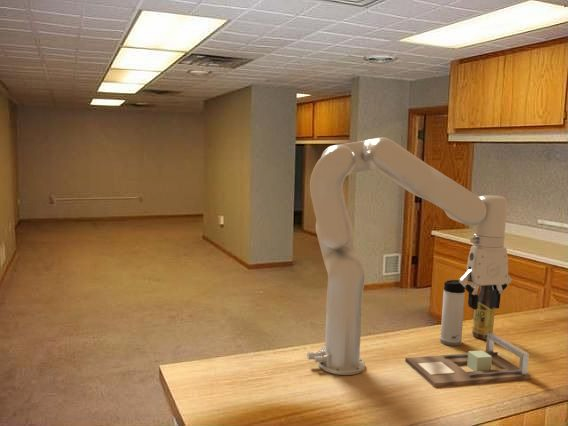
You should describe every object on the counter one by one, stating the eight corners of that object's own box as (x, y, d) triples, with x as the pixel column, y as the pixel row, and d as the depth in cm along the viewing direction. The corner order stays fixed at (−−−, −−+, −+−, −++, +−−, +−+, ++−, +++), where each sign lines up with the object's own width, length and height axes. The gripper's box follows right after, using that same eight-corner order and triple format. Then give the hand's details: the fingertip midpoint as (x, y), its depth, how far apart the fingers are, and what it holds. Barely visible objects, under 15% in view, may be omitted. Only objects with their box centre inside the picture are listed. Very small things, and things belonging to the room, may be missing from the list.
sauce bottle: (467, 334, 167) (472, 274, 165) (483, 332, 169) (488, 274, 166) (480, 341, 161) (485, 280, 158) (497, 339, 163) (502, 278, 160)
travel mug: (458, 348, 154) (463, 283, 152) (437, 342, 158) (441, 280, 156) (465, 342, 159) (469, 280, 157) (444, 337, 163) (448, 276, 161)
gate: (521, 374, 134) (523, 353, 133) (485, 351, 149) (487, 332, 148) (527, 374, 134) (528, 353, 134) (490, 351, 149) (492, 332, 149)
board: (434, 387, 128) (434, 381, 128) (405, 361, 144) (405, 355, 143) (530, 378, 134) (530, 373, 134) (492, 355, 150) (493, 349, 150)
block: (476, 373, 137) (477, 357, 137) (467, 366, 142) (468, 351, 141) (490, 372, 138) (492, 356, 138) (481, 365, 143) (482, 350, 142)
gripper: (467, 245, 130) (462, 313, 132) (526, 244, 134) (520, 310, 136) (451, 239, 137) (447, 304, 139) (507, 239, 141) (502, 302, 143)
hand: (483, 306), depth 138 cm, fingers open, 6 cm apart
